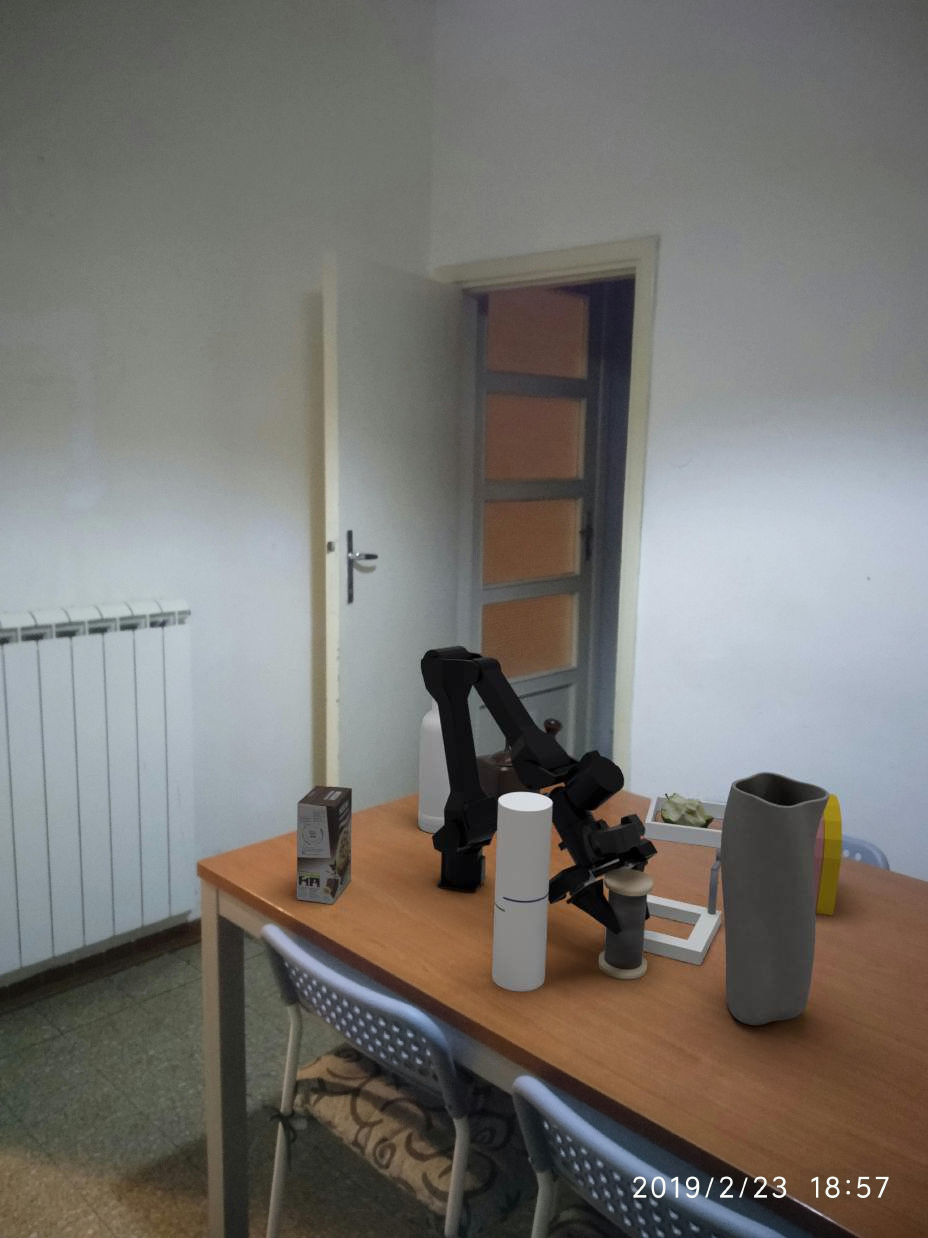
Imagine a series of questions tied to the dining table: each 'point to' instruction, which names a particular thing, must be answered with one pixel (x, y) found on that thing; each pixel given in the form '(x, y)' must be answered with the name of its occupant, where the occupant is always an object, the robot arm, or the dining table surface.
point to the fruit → (685, 812)
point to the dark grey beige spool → (626, 923)
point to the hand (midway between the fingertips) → (633, 926)
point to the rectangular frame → (687, 913)
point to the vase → (769, 895)
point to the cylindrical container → (521, 890)
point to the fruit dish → (684, 832)
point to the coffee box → (324, 843)
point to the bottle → (432, 773)
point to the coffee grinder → (506, 768)
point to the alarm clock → (827, 857)
